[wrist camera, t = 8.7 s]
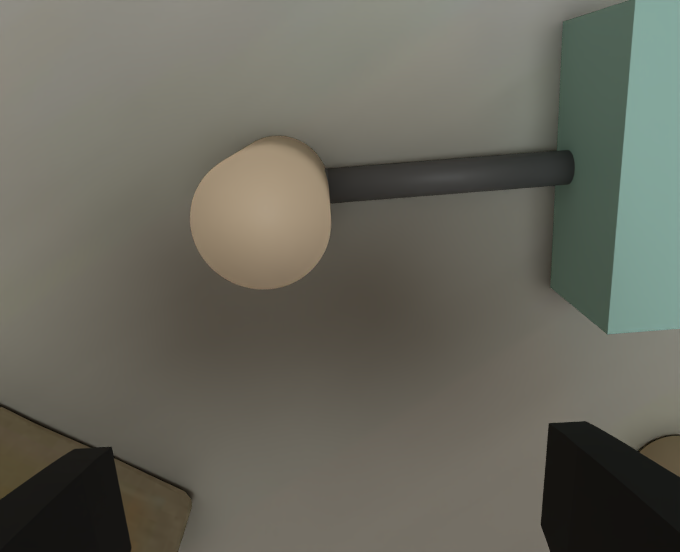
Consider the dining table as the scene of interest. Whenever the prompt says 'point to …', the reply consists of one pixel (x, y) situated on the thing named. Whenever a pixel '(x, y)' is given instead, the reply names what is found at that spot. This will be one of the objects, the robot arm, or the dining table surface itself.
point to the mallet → (503, 181)
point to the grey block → (665, 453)
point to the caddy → (135, 486)
